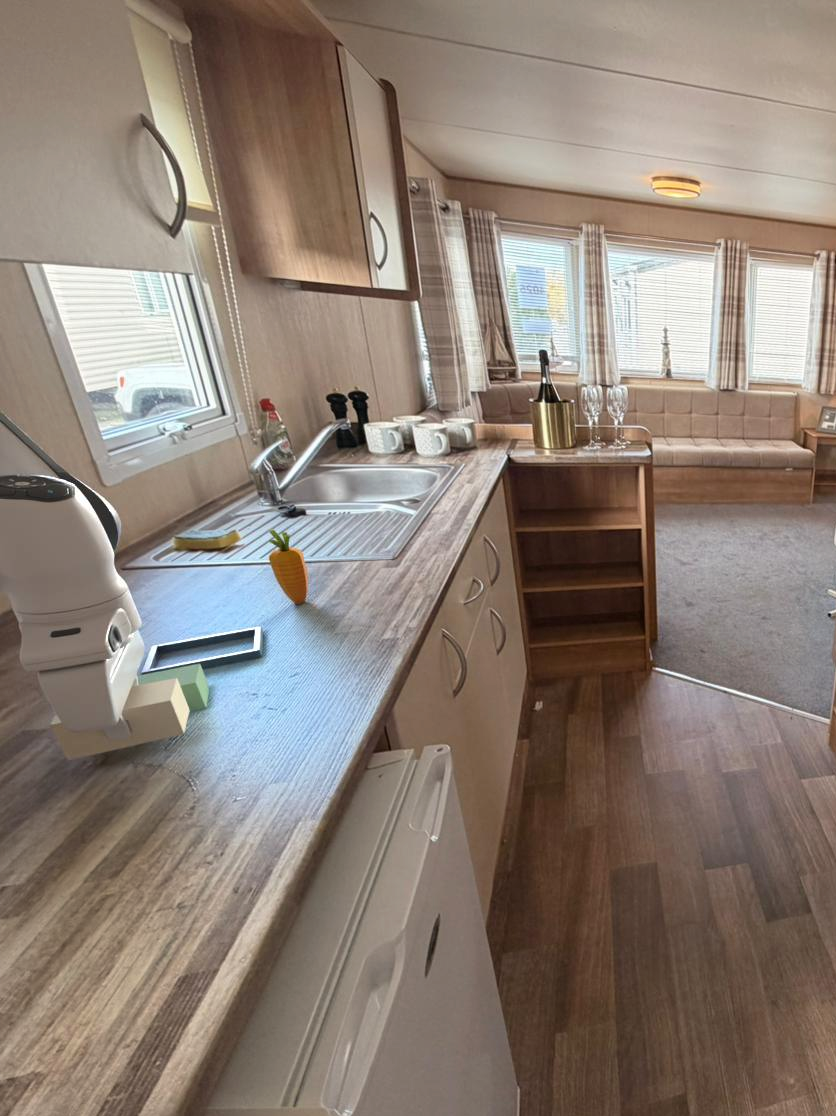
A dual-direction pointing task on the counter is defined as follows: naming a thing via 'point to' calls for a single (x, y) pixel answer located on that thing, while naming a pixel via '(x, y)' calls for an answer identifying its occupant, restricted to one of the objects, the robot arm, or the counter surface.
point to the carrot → (289, 568)
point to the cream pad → (133, 720)
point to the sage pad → (184, 684)
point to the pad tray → (202, 641)
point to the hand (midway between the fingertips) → (127, 721)
